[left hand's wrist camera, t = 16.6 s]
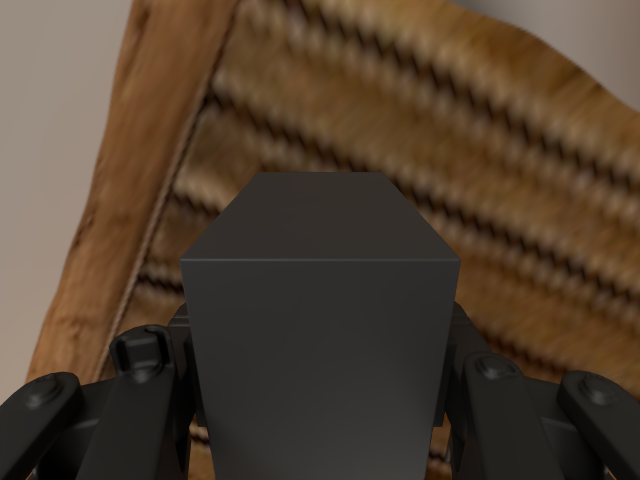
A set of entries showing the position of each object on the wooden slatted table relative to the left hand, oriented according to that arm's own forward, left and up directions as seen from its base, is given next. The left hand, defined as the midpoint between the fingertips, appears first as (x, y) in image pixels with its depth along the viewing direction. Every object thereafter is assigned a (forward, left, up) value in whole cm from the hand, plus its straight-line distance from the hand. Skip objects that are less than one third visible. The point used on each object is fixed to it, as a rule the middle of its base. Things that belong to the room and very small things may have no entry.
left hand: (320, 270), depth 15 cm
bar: (-3, +6, -1) cm, 7 cm away
